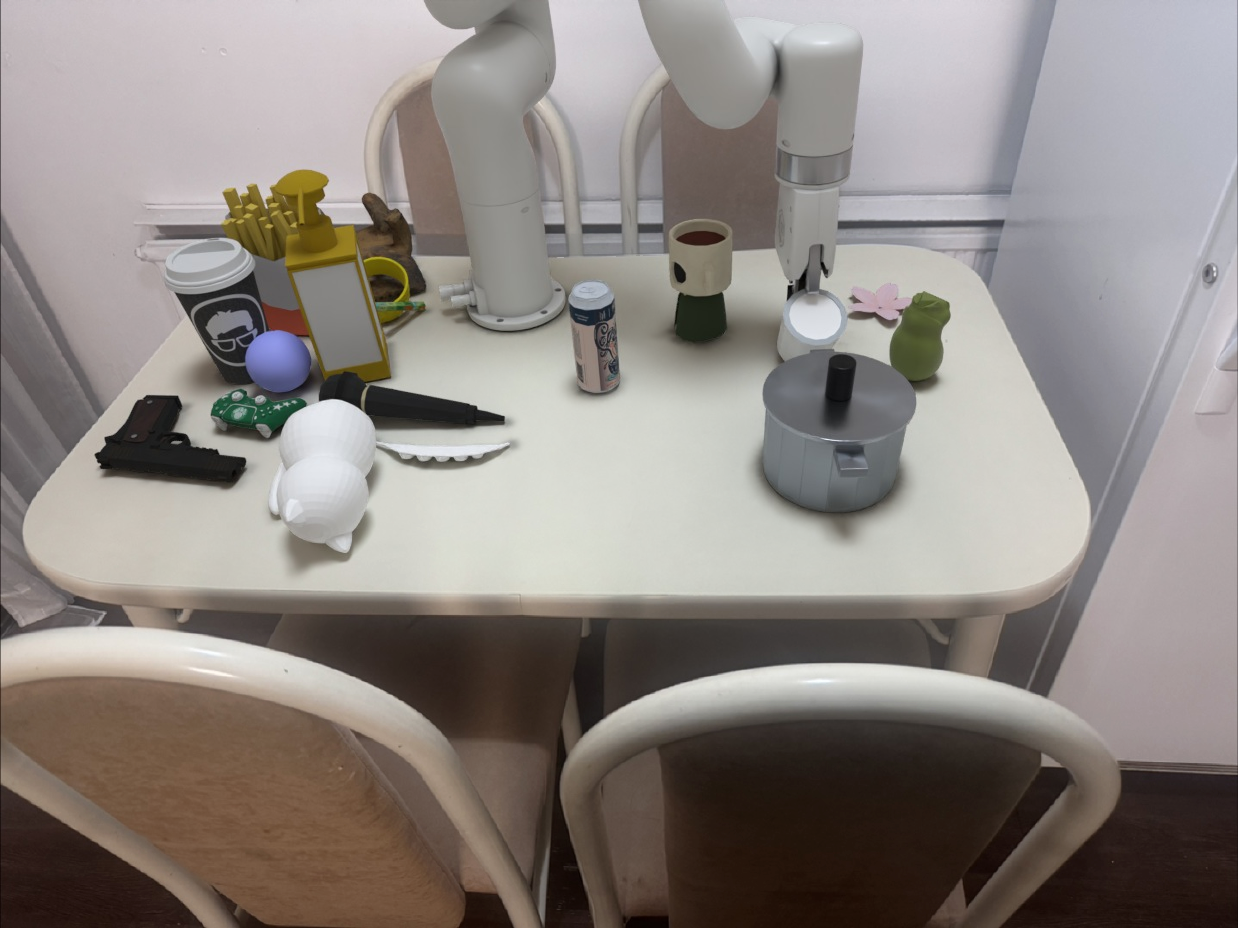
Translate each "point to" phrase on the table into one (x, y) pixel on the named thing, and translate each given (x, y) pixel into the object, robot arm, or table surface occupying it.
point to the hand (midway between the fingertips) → (800, 318)
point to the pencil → (400, 306)
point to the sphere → (278, 361)
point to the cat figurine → (324, 472)
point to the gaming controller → (253, 411)
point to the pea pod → (442, 451)
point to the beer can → (594, 336)
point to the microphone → (399, 402)
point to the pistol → (163, 445)
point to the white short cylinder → (810, 323)
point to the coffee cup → (219, 300)
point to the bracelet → (394, 270)
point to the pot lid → (839, 398)
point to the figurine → (388, 248)
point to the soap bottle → (332, 285)
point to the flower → (880, 301)
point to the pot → (829, 468)
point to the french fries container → (267, 251)
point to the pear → (920, 337)
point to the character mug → (700, 277)
